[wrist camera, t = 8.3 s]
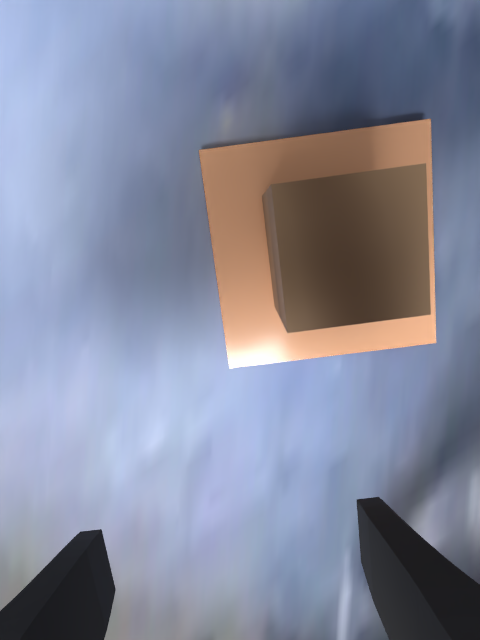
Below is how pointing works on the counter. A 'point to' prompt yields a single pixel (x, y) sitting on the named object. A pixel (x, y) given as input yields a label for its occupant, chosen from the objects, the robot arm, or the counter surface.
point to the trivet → (252, 250)
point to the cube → (349, 248)
